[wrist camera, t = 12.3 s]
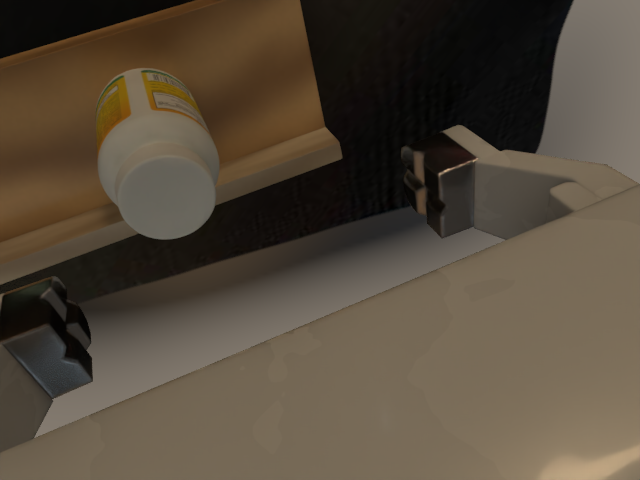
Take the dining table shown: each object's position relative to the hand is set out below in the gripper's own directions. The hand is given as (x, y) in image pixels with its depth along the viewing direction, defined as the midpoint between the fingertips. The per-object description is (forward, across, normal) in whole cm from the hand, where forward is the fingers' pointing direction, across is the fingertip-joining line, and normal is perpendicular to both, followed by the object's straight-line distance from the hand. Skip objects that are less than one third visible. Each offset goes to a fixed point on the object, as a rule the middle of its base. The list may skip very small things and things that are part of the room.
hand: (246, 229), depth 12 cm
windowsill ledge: (+25, +3, +5) cm, 26 cm away
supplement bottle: (+19, +2, +4) cm, 20 cm away
